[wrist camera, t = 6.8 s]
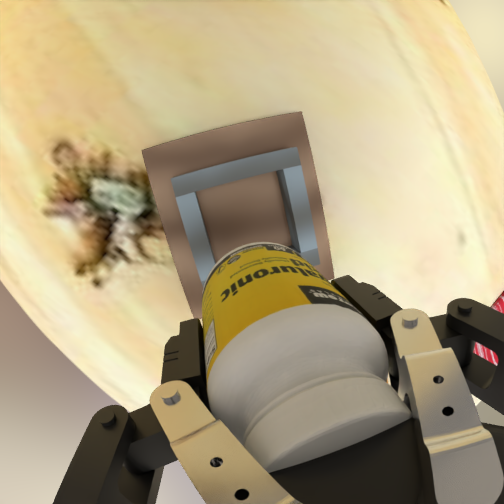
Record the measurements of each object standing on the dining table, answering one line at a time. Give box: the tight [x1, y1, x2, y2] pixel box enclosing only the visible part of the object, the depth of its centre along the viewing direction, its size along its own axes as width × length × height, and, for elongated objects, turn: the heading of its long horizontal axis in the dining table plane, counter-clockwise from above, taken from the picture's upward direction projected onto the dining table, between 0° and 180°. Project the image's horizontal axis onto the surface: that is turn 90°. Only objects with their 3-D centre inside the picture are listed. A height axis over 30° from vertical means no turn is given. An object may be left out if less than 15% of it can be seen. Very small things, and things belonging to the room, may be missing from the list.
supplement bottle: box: [202, 242, 412, 473], centre depth 10 cm, size 5×5×10 cm
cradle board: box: [142, 112, 334, 319], centre depth 26 cm, size 16×14×4 cm
